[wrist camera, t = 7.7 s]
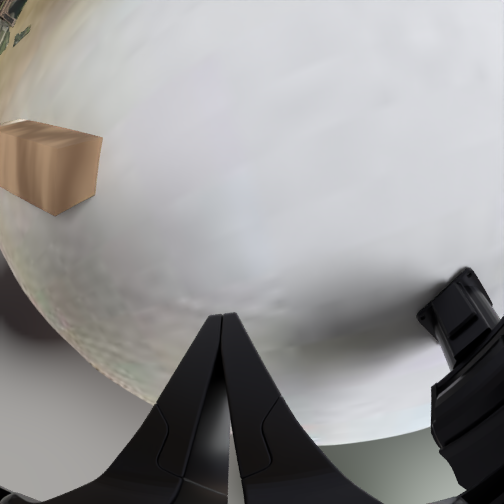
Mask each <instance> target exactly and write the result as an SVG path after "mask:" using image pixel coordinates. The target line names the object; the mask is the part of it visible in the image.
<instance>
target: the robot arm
mask: <svg viewBox="0 0 504 504" xmlns="http://www.w3.org/2000/svg"><path fill="white" fill-rule="evenodd" d="M468 273H469V275H468ZM492 305H493V304H492V302H491V300H490V298H489V296H488V295H487V293H486V291H485V289H484V288H483V286H482V284H481V282H480V281H479V279H478V277H477V276H476V274H475V273H474V271H473V270H472V269H471V268H466V269H465V270H464V271H463V272H462V273H461V274H460V275H459V276H458V277H457V278H456V279H455V280H454V281H453V282H452V283H451V284H450V285H449V286H448V287H447V288H446V289H445V290H444V291H443V292H441V293H440V294H439V295H438V296H437V297H436V298H435V299H434V300H433V301H432V302H430V303H429V304H428V305H427V306H426V307H425V308H423V309H422V310H421V311H420V312H419V313H418V314H417V319H418V321H419V322H420V323H421V324H422V325H423V326H424V327H425V328H426V329H427V330H428V331H429V332H430V333H431V334H432V335H433V336H434V337H435V338H436V339H437V340H438V341H439V343H440V346H441V348H442V351H443V353H444V356H445V358H446V361H447V363H448V366H449V368H450V371H451V372H450V373H449V374H447V375H446V376H445V377H444V378H443V379H442V380H440V381H439V382H438V383H435V384H434V385H433V386H432V387H431V434H432V435H433V438H434V440H435V442H436V444H437V445H438V447H439V448H440V450H439V453H440V454H441V455H442V456H443V457H444V458H445V459H446V460H447V461H448V463H449V464H450V466H451V467H452V469H453V471H454V474H455V476H456V479H457V481H458V484H459V485H460V486H462V487H463V488H465V489H466V491H465V492H463V493H462V494H460V495H458V496H457V497H451V498H448V499H444V500H440V501H437V502H433V503H428V504H504V316H503V317H502V319H500V318H499V316H498V315H497V313H496V312H495V310H494V309H493V308H492ZM422 316H423V317H422ZM156 403H157V404H155V405H154V406H153V408H152V410H151V411H150V413H149V415H148V416H147V418H146V419H145V421H144V422H143V424H142V425H141V427H140V428H139V430H138V431H137V432H136V434H135V435H134V437H133V438H132V439H131V440H130V442H129V443H128V444H127V445H126V447H125V448H124V449H123V451H122V452H121V453H120V454H119V455H118V457H117V458H116V459H115V460H114V462H113V463H112V464H111V465H110V466H109V468H108V469H107V470H106V471H105V472H104V473H103V474H102V475H101V476H100V477H98V478H97V479H95V480H94V481H92V482H90V483H88V484H86V485H83V486H81V487H79V488H77V489H74V490H72V491H70V492H67V493H65V494H62V495H60V496H57V497H55V498H52V499H49V500H47V501H43V502H41V501H38V500H35V499H33V498H30V497H28V496H25V495H22V494H20V493H16V492H12V491H10V490H8V489H6V488H4V487H2V486H0V504H228V496H227V495H228V471H229V444H230V442H229V441H230V420H231V426H232V432H233V438H234V444H235V450H236V455H237V461H238V466H239V471H240V477H241V479H242V480H241V481H242V487H243V494H244V502H245V504H383V503H382V502H380V501H378V500H377V499H376V498H374V497H373V496H371V495H370V494H368V493H367V492H365V491H364V490H362V489H361V488H359V487H358V486H357V485H355V484H354V483H353V482H351V481H350V480H349V479H348V478H347V477H346V476H344V474H343V473H342V472H341V471H339V470H338V468H336V466H335V465H334V464H333V463H332V462H331V461H330V460H329V459H328V457H327V456H326V455H325V454H324V453H323V452H322V451H321V450H320V448H319V447H318V446H317V445H316V444H315V443H314V441H313V440H312V439H311V438H310V437H309V435H308V434H307V433H306V432H305V430H304V429H303V428H302V426H301V425H300V424H299V423H298V421H297V420H296V418H295V417H294V415H293V413H292V412H291V410H290V409H289V407H288V405H287V404H286V402H285V400H284V398H283V397H281V394H280V392H279V390H278V388H277V386H276V385H275V383H274V381H273V379H272V378H271V376H270V374H269V372H268V370H267V369H266V367H265V365H264V363H263V361H262V360H261V358H260V356H259V354H258V352H257V350H256V349H255V347H254V345H253V343H252V341H251V339H250V337H249V336H248V334H247V332H246V330H245V328H244V326H243V324H242V322H241V320H240V319H239V317H238V315H237V313H235V312H233V313H225V314H223V315H222V314H216V315H210V316H209V317H208V318H207V320H206V321H205V323H204V325H203V326H202V328H201V329H200V331H199V333H198V334H197V336H196V338H195V339H194V341H193V343H192V344H191V346H190V347H189V349H188V351H187V352H186V354H185V356H184V357H183V359H182V361H181V362H180V364H179V365H178V367H177V369H176V370H175V372H174V374H173V375H172V377H171V379H170V380H169V382H168V384H167V385H166V387H165V388H164V390H163V392H162V393H161V395H160V397H159V398H158V400H157V402H156Z"/></svg>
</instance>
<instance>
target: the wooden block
mask: <svg viewBox="0 0 504 504" xmlns="http://www.w3.org/2000/svg"><path fill="white" fill-rule="evenodd" d="M102 139H103V138H102V137H98V136H95V135H91V134H87V133H83V132H79V131H75V130H71V129H66V128H62V127H58V126H53V125H49V124H44V123H39V122H34V121H29V120H24V119H18V120H14V121H9V122H5V123H1V124H0V187H2V188H4V189H6V190H7V191H9V192H11V193H13V194H14V195H16V196H18V197H20V198H22V199H24V200H25V201H27V202H29V203H31V204H33V205H35V206H36V207H38V208H40V209H42V210H44V211H46V212H48V213H50V214H52V215H54V216H57V215H58V214H60V213H62V212H64V211H65V210H67V209H69V208H71V207H73V206H75V205H76V204H78V203H80V202H82V201H84V200H86V199H88V198H90V197H92V196H94V195H95V191H96V181H97V173H98V165H99V158H100V151H101V145H102Z"/></svg>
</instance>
